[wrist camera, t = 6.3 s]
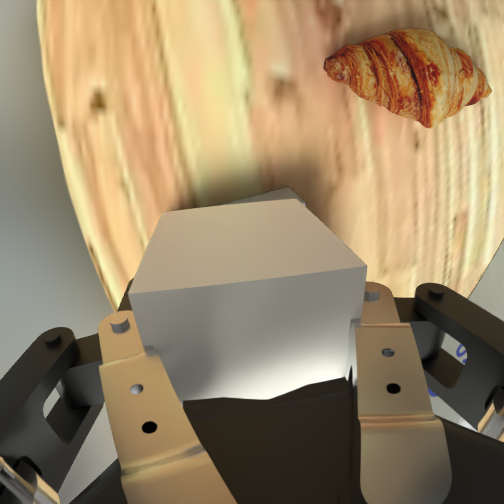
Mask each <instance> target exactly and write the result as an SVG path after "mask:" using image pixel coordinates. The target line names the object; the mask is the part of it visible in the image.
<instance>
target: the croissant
mask: <svg viewBox="0 0 504 504" xmlns="http://www.w3.org/2000/svg"><path fill="white" fill-rule="evenodd" d="M323 68H324V70H325V71H326V72H327V75H328V76H329V77H330V78H331V79H332V80H334V81H336V82H340V83H344V84H348V85H349V86H350V88H351V89H352V90H353V91H354V92H355V93H356V94H357V95H358V96H359V97H361V98H364V99H366V100H368V101H371V102H374V103H376V104H378V105H379V106H384V107H386V108H387V109H388V110H389V111H390V112H392V113H394V114H397V115H400V116H403V117H406V118H411V119H413V120H415V121H419V122H420V123H421V124H422V125H423V126H424V127H426V128H434V127H436V126H437V125H438V124H440V123H441V122H442V121H443V119H444V118H447V117H450V116H453V115H455V114H456V113H458V112H459V111H461V109H462V108H463V107H464V106H469V105H473V104H475V103H477V102H478V101H479V100H480V99H484V98H487V97H488V96H489V95H490V94H491V92H492V90H491V88H490V86H489V85H488V83H487V80H486V77H485V75H484V73H483V72H482V71H481V70H480V69H479V68H475V66H474V64H473V63H472V61H471V58H470V57H469V56H468V55H467V54H466V53H465V52H464V51H463V50H460V49H455V48H453V47H449V46H447V45H446V43H445V42H444V41H443V40H442V39H441V38H440V37H439V36H437V35H436V34H435V33H433V32H432V31H428V30H424V29H412V28H405V29H400V30H395V31H391V32H389V33H386V34H384V35H381V36H376V37H374V38H371V39H368V40H365V41H364V42H362V43H360V44H358V45H352V44H351V45H347V46H344V47H342V48H341V49H340V50H339V51H337V52H336V53H335V54H333V55H332V56H330V57H328V58H326V59H325V62H324V67H323Z"/></svg>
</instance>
